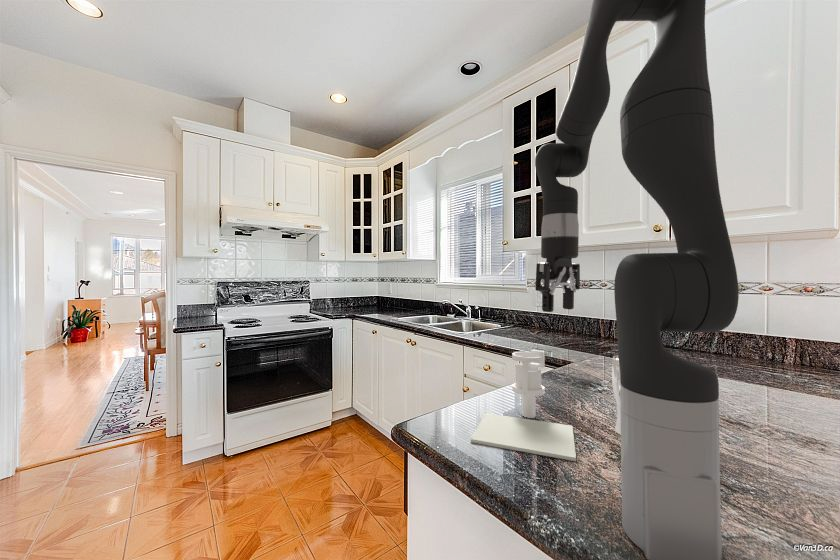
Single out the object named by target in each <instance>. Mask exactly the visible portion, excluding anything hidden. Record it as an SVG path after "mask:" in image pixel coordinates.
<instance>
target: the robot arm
mask: <svg viewBox="0 0 840 560" xmlns="http://www.w3.org/2000/svg"><path fill="white" fill-rule="evenodd" d="M706 5H707V4H706V0H592V4H591V7H590V11H589V16H588V20H587V23H586V28H585V31H584V35H583V39H582V44H581V48H580V52H579V54H578V55H579V56H578V60H577V64H576V68H575V69H576V70H575V73H574V76H573V80H572V84H571V86H570V87H571V88H570V90H569V93H568V96H567V99H566V101H565V104H564V106H563V109H562V112H561V114H560V117H559V119H558V122H557V124H556V128H555V134H556V138H557V139H558V140H559V141H561V142H555V143H554V142H548V143H545V144H543V145H541V146H540V147H539V149H538V150H537V152H536V154H535V158H534V167H535V171H536V174H537V178H538V181H539V185H540V190H541V194H542V222H541V228H540V231H541V232H540V233H541V237H540V238H541V240H540V241H541V243H540V244H541V245H540V246H541V247H540V257H541V258H542V259H546V261H545V262H537V263H536V266H535V268H536V270H535V286H534V287H535V291H536V292H540V294H541V295H542V296H541V307H542V308H541V309H542V312H545V313H546V312H547V313H553V311H554V309H555V307H554V306H555V305H554V303H555V301H554V298H555V295H554V293H555V291H556V288H557V287H558V286H559V285H560V286H561V289H562V308H563V309H564V310H573V309H574V307H575V305H574V303H575V293H576V291H577V290H580V288H581V272H580V271H581V269H580V268H581V266H580V263H573V262H572V260H573V259H577V258H578V257H579V238H580V237H579V235H580V234H579V233H580V231H579V227H580V224H579V217H578V214H579V193H578V190H577V188H574V187H573V186H568V185H565V184H563V183H560V181H559V180H558V178H575V177H579V175H581V174H582V173H583V172H584V171H585V170H586V168H587V166H588V163H589V162H588V161H589V157H590V155H589V154H590V148H591V143H592V140H593V137H594V134H595V132H596V129H597V128H598V126H599V123H600V121H601V120H602V118H603V116H604V114H605V112H606V110H607V107H608V104H609V101H610V96H611V95H610V94H611V81H610V74H609V70H608V63H607V46H608V42H609V37H610V35H611V33H612V30H613V28H614V26H615V24H616V23H617V22H650V23H651V24H652V25H653V27H654V32H655V34H654V35H655V38H654V40H655V41H654V49H653V50H652V51H653V52H652V53H651V55H650V57H649V59H648V60H647V62H645V65H644V66H643V68H642V69H641V71H639V74H638V75H637V76H636V78H635V80H634V81H633V82H632V84H631V85H630V88H628V90H627V92H626V95H625V97H624V98H623V101H622V103H621V107H620V111H619V115H620V116H619V117H620V119H619V122H620V123H619V126H620V128H619V129H620V141H621V142H620V144H621V154H622V155H621V156H622V159H623V162H624V164H625V166H626V167H627V169H628V171H629V173H631V174H632V176H633V177H634V178H635V180H636V181H637V183H639V184H640V186H642V188H643V189H644V190H645V192H647V193H648V194H649V195H650V197H651V198H652V199H654V201H655V202H656V203H657V205H658V206H659V207H660V209H662V211H663V213H664V214H665V216H666V218H667V220H668V222H669V224H670V226H671V229H672V233H673V236H674V239H675V244H676V245H675V246H676V249H677V252H655V253H654V252H651V253H647V252H646V253H634V254H629V255H626V256H625V257H623V258H622V259H621V261H619V263H618V266H617V267H616V272H615V276H614V288H613V290H614V308H615V319H616V332H617V333H616V334H617V335H616V336H617V355H618V358H619V366H620V393H621V435H620V463H621V464H620V468H621V469H620V470H621V471H620V472H621V473H620V476H621V483H620V485H621V491H620V492H621V525H622V528H623V531H624V533H625V534H626V536H627V537H628V538H629V540H631V542H633V544H635V545H636V546H637V547H638V548H639V549H640V550H641V551H643V554H644V556H645V558H646V559H647V560H722V559H723V553H722V552H723V551H722V550H723V549H722V544H723V543H722V541H723V540H722V511H721V507H722V505H721V502H722V501H721V464H720V462H721V461H720V460H721V459H720V453H721V452H720V451H721V450H720V408H719V407H720V401H719V399H720V396H719V395H720V392H719V391H720V390H719V389H720V387H719V385H720V384H719V378H718V375H717V373H716V372H715V371H714V370H713V369H712V368H711V369H710V368H709V367H707V366H705V365H702V364H699V363H697V362H695V361H690V360H687V359H684V358H682V357H679V356H678V355H676V354H673V353H672V352H670V351H669V350H667V349H666V347H665V346H664V344H663V342H662V341H663V340H662V334H661V332H669V333H670V332H673V333H676V332H677V333H679V332H680V333H716V332H721V331H723V330H725V329H727V328H728V327H729V326H730V325H731V324H732V322H733V321H734V319H735V316H736V313H737V311H738V306H739V297H740V295H739V292H740V290H739V280H738V274H737V266H736V262H735V258H734V253H733V248H732V244H731V240H730V236H729V231H728V227H727V223H726V217H725V214H724V212H725V211H724V208H723V203H722V198H721V193H720V192H721V191H720V184H719V177H718V167H717V157H716V156H717V155H716V147H715V146H716V145H715V123H714V122H715V121H714V114H713V103H712V102H713V101H712V93H711V86H710V81H709V73H708V72H709V71H708V60H707V57H708V56H707V42H706V41H707V39H706Z"/></svg>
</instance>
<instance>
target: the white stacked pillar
mask: <svg viewBox="0 0 840 560" xmlns="http://www.w3.org/2000/svg"><path fill="white" fill-rule="evenodd" d="M545 356H546V355H545V350H539V349H534V348H533V349H530V351H514V352H512V353H511V358H512V360H513V361H516V364H515V382H514V383H512V385H511V386H512V387H511V388H512V392H513V393H515V394H519V395H521V396H520V397H521V414H522V415H521V417H523V416H524V418H526V417H527V418H526V419H534V418H536V417H535V416H537V415H536V402H537V401H536V397H538V396H543V395H545V393H546V392H545V391H546V389H545V386H544V385H542V369H541V368H545V364H546V363H545V361H546V360H545V358H546V357H545ZM519 362H520V363H519Z"/></svg>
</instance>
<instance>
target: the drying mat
mask: <svg viewBox="0 0 840 560" xmlns="http://www.w3.org/2000/svg"><path fill="white" fill-rule="evenodd" d="M472 434H473V435H472V436H471V437H470V443H473V444H479V445H483V446H491V447H495V448H499V449H500V448H501V449H506V450H513V451H515V452H516V451H517V452H523V453H527V454H534V455H540V456H544V457H550V458H556V459H561V460H567V461H573V462H577V454H576V446H575V445H576V444H575V436H574V427H573V425H569V424H563V423H558V422H557V423H556V422H550V421H542V420H535V419H531V418H522V417H514V416H507V415H500V414H496V413H495V414H494V413H487V412H486V413H484V415H483V416H482V418H481V421H480V423H479V424H478V426H477V427H476V429H475V430H474V433H472Z"/></svg>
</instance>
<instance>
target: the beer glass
mask: <svg viewBox="0 0 840 560" xmlns="http://www.w3.org/2000/svg"><path fill="white" fill-rule="evenodd" d="M611 365H612V368H611V384H612V391H613V397H614V401H615V406H616V421H615V427H614V431H615V433H616V434H618V435H619V436H621V393H620V366H619V358H618V354H617V355H613V356H612V364H611Z"/></svg>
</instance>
